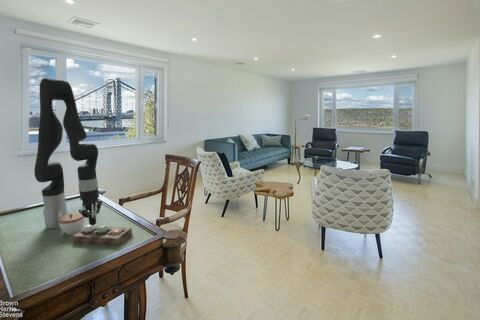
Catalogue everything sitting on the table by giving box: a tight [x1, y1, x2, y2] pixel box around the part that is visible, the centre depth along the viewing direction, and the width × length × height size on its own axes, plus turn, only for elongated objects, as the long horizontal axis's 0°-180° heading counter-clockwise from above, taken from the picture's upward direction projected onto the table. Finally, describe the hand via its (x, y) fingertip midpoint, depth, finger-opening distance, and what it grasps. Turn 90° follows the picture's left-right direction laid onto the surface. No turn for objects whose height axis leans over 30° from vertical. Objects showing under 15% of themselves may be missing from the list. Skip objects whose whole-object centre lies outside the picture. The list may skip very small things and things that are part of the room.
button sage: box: [97, 224, 109, 234], centre depth 124 cm, size 4×4×2 cm
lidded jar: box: [58, 212, 85, 236], centre depth 132 cm, size 11×11×9 cm
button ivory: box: [82, 223, 95, 233], centre depth 125 cm, size 4×4×2 cm
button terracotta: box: [111, 229, 122, 235], centre depth 123 cm, size 4×4×2 cm
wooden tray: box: [71, 225, 133, 247], centre depth 124 cm, size 22×11×3 cm, turn 80°
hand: (93, 224), depth 125 cm, fingers closed
